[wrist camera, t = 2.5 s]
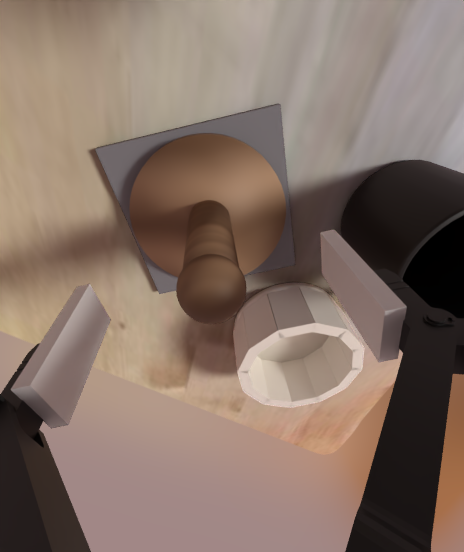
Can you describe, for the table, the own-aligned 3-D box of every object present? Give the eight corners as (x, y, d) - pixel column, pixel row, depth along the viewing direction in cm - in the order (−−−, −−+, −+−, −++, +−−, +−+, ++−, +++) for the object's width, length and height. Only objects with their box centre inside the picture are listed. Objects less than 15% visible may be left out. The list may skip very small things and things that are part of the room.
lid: (105, 154, 20) (10, 222, 10) (273, 114, 19) (342, 145, 10) (162, 288, 27) (137, 406, 17) (289, 261, 26) (339, 367, 16)
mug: (328, 287, 29) (371, 358, 22) (348, 163, 22) (420, 204, 15) (419, 278, 29) (493, 345, 22) (466, 153, 23) (595, 188, 15)
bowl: (223, 295, 29) (227, 340, 24) (338, 271, 28) (367, 312, 23) (244, 368, 35) (250, 415, 30) (337, 349, 34) (360, 394, 29)
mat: (97, 147, 20) (94, 149, 20) (278, 103, 20) (280, 104, 19) (160, 290, 28) (159, 294, 27) (293, 261, 27) (295, 264, 26)
